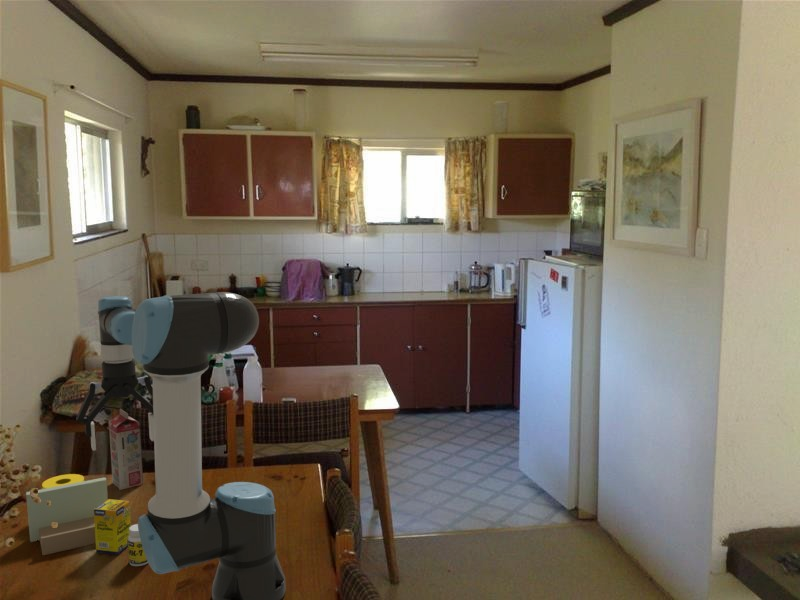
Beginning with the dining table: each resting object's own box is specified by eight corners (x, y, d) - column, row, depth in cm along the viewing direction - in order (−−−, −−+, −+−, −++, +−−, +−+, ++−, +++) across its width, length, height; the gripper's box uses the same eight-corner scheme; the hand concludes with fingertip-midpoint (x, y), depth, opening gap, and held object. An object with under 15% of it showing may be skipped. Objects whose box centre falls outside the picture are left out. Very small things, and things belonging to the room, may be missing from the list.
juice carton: (135, 477, 211) (131, 406, 209) (143, 484, 206) (139, 411, 203) (112, 483, 207) (108, 410, 204) (120, 489, 202) (115, 415, 199)
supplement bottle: (125, 566, 159) (122, 531, 158) (135, 556, 164) (133, 521, 163) (144, 567, 159) (142, 532, 157) (155, 557, 163) (153, 522, 162)
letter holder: (115, 538, 172) (112, 492, 171) (33, 557, 163) (29, 508, 162) (108, 521, 182) (105, 477, 180) (29, 538, 173) (26, 492, 171)
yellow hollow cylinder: (66, 505, 192) (63, 472, 191) (94, 510, 189) (92, 476, 187) (35, 520, 183) (33, 485, 182) (65, 526, 179) (62, 491, 178)
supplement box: (118, 555, 164) (115, 510, 163) (95, 553, 165) (92, 508, 164) (132, 543, 170) (130, 500, 169) (110, 541, 171) (107, 498, 170)
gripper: (167, 351, 180) (172, 431, 183) (60, 362, 168) (66, 448, 171) (174, 356, 174) (178, 439, 177) (63, 369, 162) (69, 457, 164)
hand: (123, 444), depth 174 cm, fingers open, 13 cm apart
